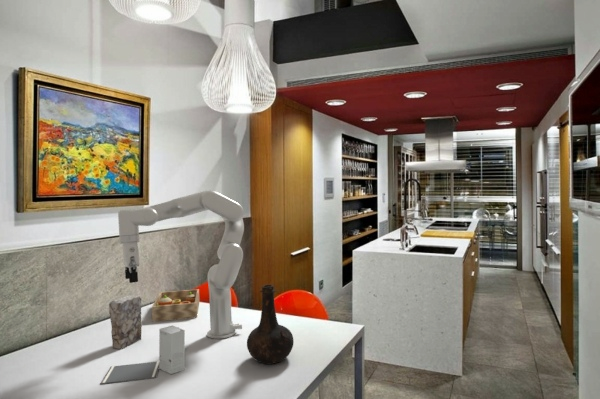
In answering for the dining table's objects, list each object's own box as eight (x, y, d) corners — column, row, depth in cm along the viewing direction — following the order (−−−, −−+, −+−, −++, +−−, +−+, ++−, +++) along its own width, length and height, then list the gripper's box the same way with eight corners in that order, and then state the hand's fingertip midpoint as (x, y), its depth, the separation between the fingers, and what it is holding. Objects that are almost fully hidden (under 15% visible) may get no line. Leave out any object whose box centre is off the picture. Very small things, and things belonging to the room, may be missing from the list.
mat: (161, 362, 157) (161, 360, 157) (155, 377, 143) (155, 376, 143) (110, 367, 154) (110, 366, 154) (100, 384, 140) (100, 383, 140)
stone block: (124, 350, 171) (122, 302, 171) (110, 349, 173) (108, 301, 172) (144, 338, 184) (142, 294, 183) (130, 338, 185) (128, 293, 185)
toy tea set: (181, 317, 213) (181, 298, 213) (153, 316, 215) (153, 298, 215) (201, 303, 239) (200, 287, 239) (176, 303, 241) (175, 286, 241)
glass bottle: (276, 372, 144) (273, 293, 144) (237, 363, 154) (234, 288, 153) (303, 355, 159) (300, 283, 159) (266, 347, 169) (263, 279, 168)
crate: (199, 301, 245) (198, 289, 244) (197, 317, 213) (196, 302, 213) (160, 305, 240) (160, 292, 240) (152, 321, 209) (151, 306, 209)
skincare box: (159, 369, 151) (157, 328, 150) (173, 363, 155) (171, 324, 155) (171, 375, 145) (170, 333, 145) (186, 369, 150) (184, 328, 150)
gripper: (143, 239, 165) (145, 282, 165) (135, 236, 179) (137, 275, 180) (122, 241, 161) (125, 285, 161) (116, 238, 175) (118, 278, 176)
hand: (131, 280), depth 170 cm, fingers open, 9 cm apart
